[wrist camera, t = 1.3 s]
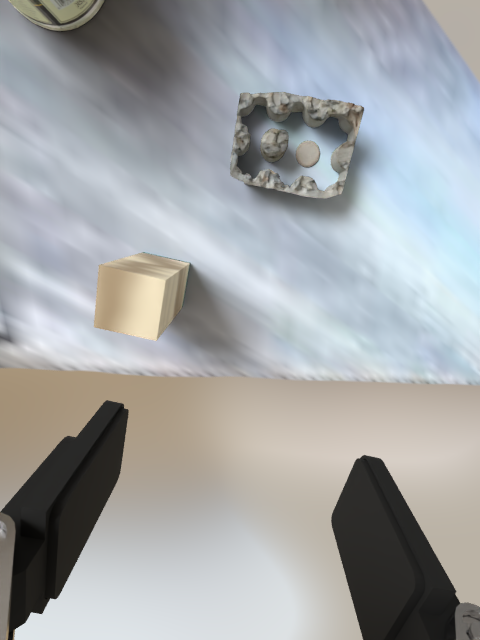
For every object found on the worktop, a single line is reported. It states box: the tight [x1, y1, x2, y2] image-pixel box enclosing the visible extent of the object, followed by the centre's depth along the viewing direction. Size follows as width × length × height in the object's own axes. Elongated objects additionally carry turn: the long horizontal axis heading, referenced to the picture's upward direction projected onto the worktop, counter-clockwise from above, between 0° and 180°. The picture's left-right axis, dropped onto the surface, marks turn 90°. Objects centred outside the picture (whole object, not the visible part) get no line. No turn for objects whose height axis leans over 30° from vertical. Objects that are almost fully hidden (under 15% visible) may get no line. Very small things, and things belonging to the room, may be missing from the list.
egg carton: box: [230, 92, 364, 199], centre depth 27 cm, size 11×8×4 cm
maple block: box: [94, 252, 190, 341], centre depth 28 cm, size 5×5×10 cm
